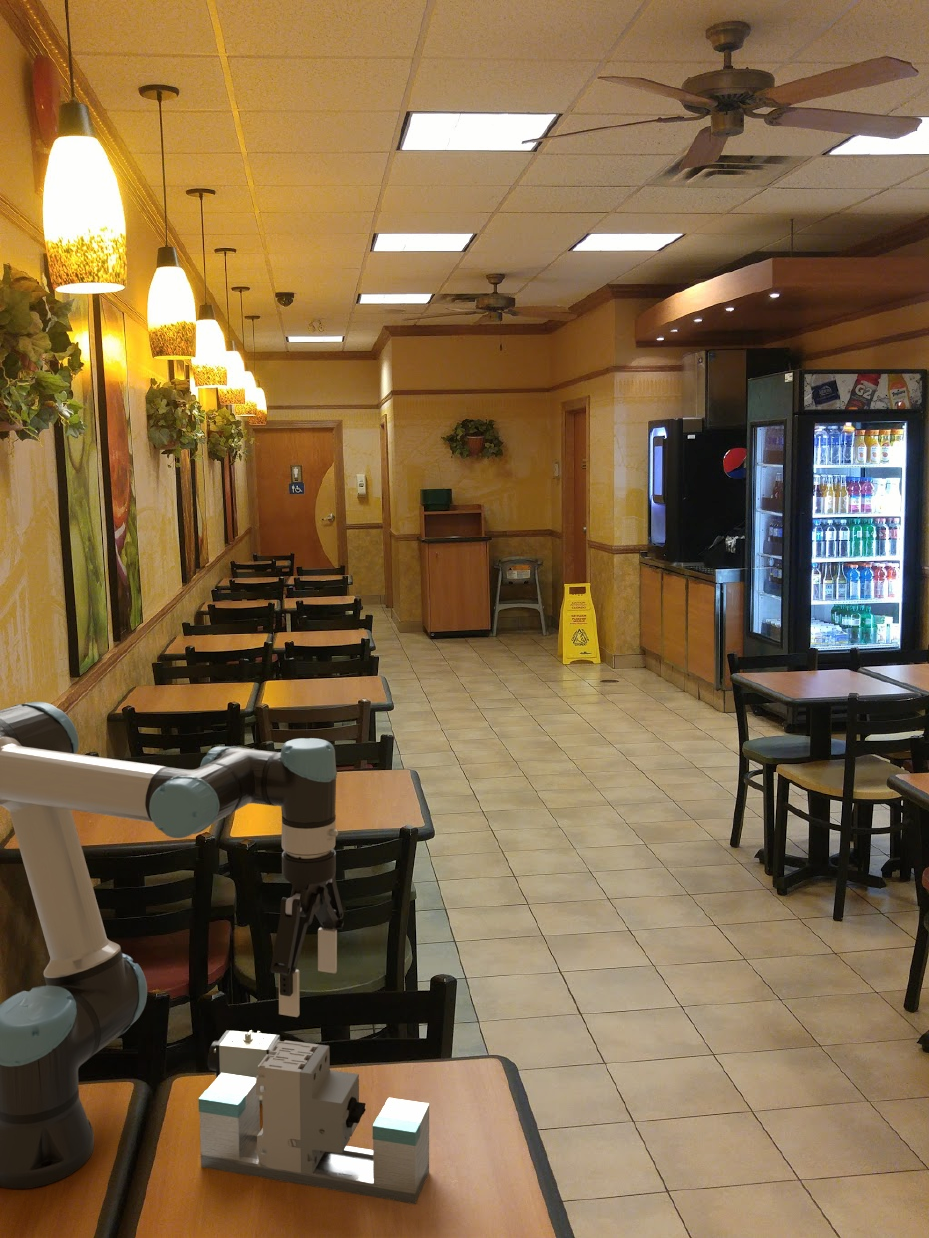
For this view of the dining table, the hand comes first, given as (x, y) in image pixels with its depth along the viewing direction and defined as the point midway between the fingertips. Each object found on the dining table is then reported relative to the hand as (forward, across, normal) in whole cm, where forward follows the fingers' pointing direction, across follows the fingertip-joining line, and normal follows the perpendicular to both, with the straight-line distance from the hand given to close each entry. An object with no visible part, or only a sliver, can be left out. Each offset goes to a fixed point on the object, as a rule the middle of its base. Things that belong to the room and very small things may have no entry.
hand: (309, 992), depth 155 cm
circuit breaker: (+23, -3, -2) cm, 24 cm away
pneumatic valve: (+26, +9, +14) cm, 31 cm away
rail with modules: (+25, -3, -2) cm, 25 cm away
